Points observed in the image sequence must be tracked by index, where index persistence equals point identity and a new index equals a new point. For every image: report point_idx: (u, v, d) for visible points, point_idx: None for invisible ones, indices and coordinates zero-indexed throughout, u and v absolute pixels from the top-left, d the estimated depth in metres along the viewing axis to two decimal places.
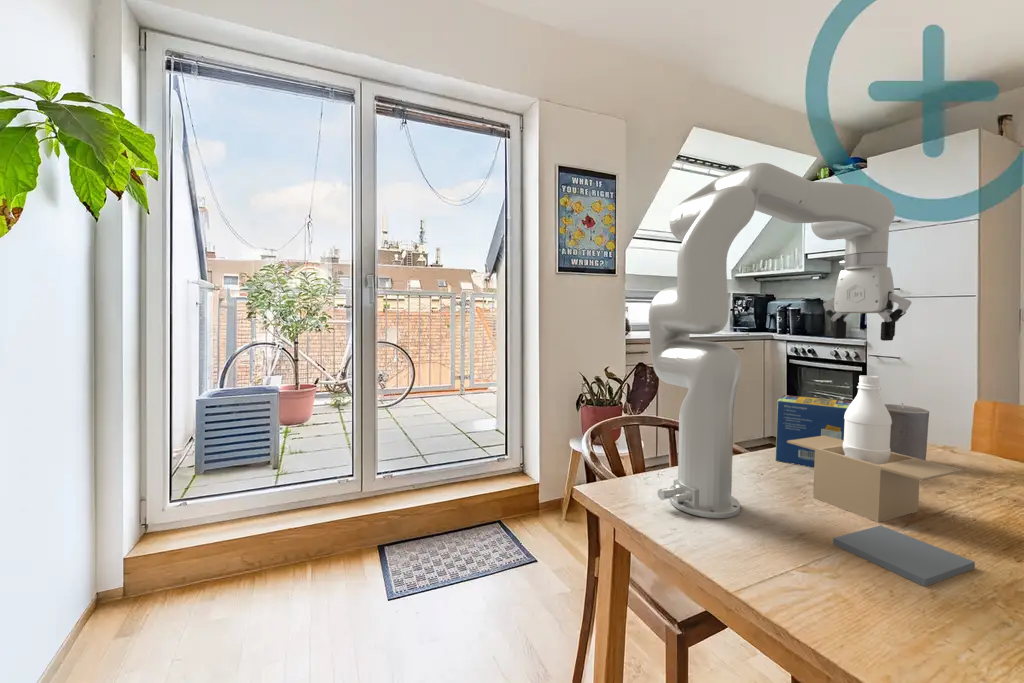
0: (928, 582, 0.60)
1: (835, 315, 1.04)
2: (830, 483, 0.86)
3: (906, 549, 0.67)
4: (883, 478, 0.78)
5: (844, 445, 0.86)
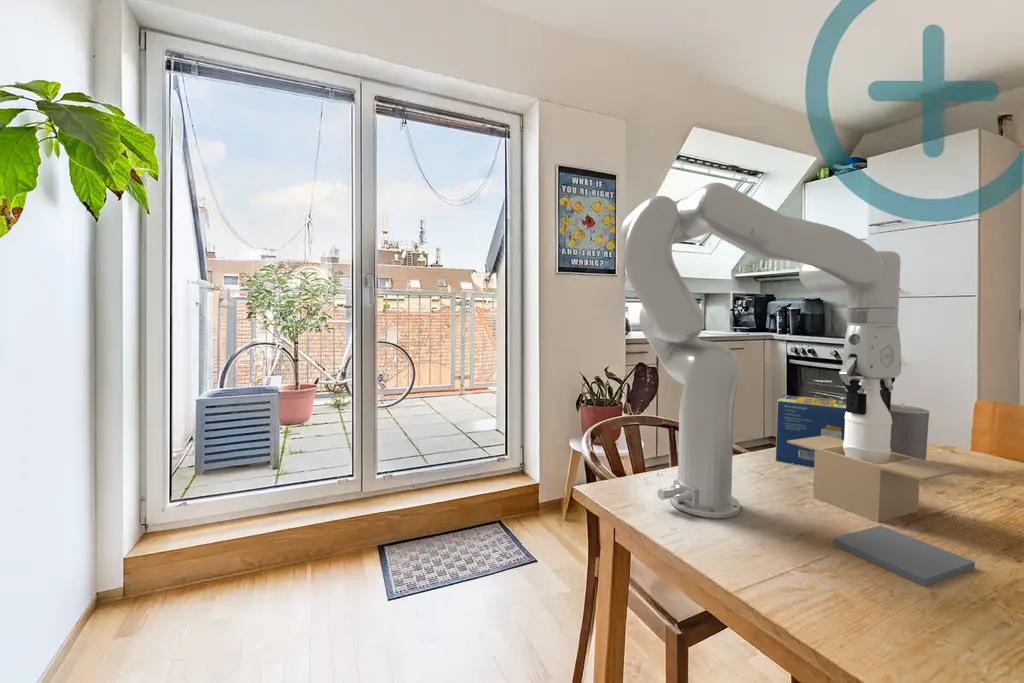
0: (928, 582, 0.60)
1: (863, 385, 0.82)
2: (830, 483, 0.86)
3: (906, 549, 0.67)
4: (883, 478, 0.78)
5: (844, 445, 0.86)
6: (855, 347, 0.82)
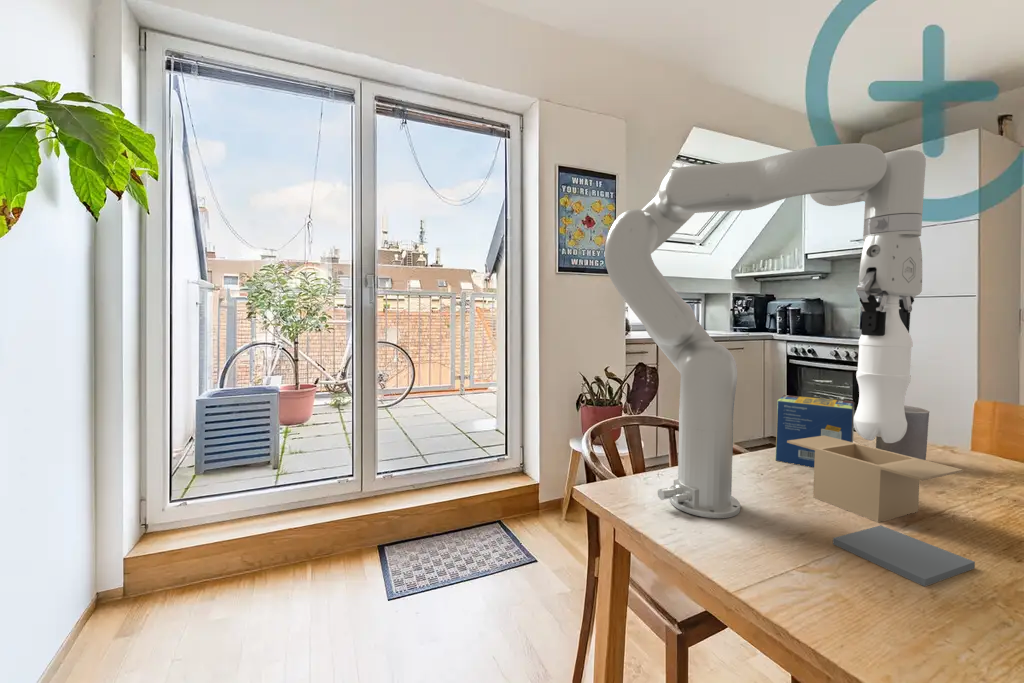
0: (928, 582, 0.60)
1: (882, 302, 0.73)
2: (830, 483, 0.86)
3: (906, 549, 0.67)
4: (883, 478, 0.78)
5: (858, 373, 0.77)
6: (874, 259, 0.73)
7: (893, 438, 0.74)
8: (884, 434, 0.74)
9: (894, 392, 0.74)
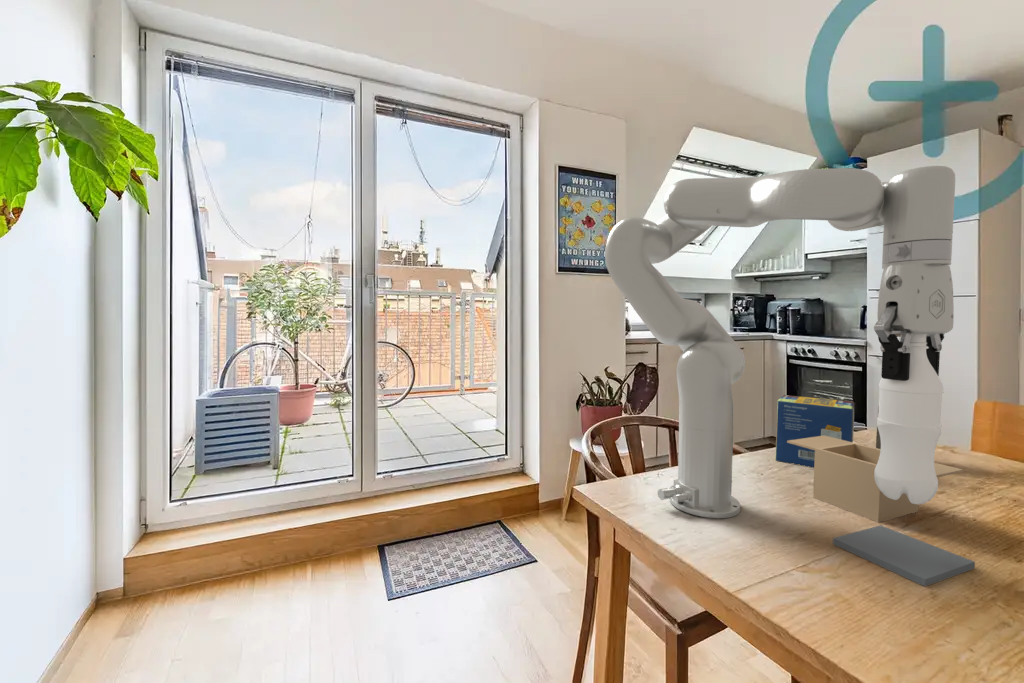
0: (928, 582, 0.60)
1: (905, 342, 0.63)
2: (830, 483, 0.86)
3: (906, 549, 0.67)
4: None
5: (879, 421, 0.67)
6: (895, 292, 0.63)
7: (921, 499, 0.64)
8: (910, 494, 0.64)
9: (921, 446, 0.63)
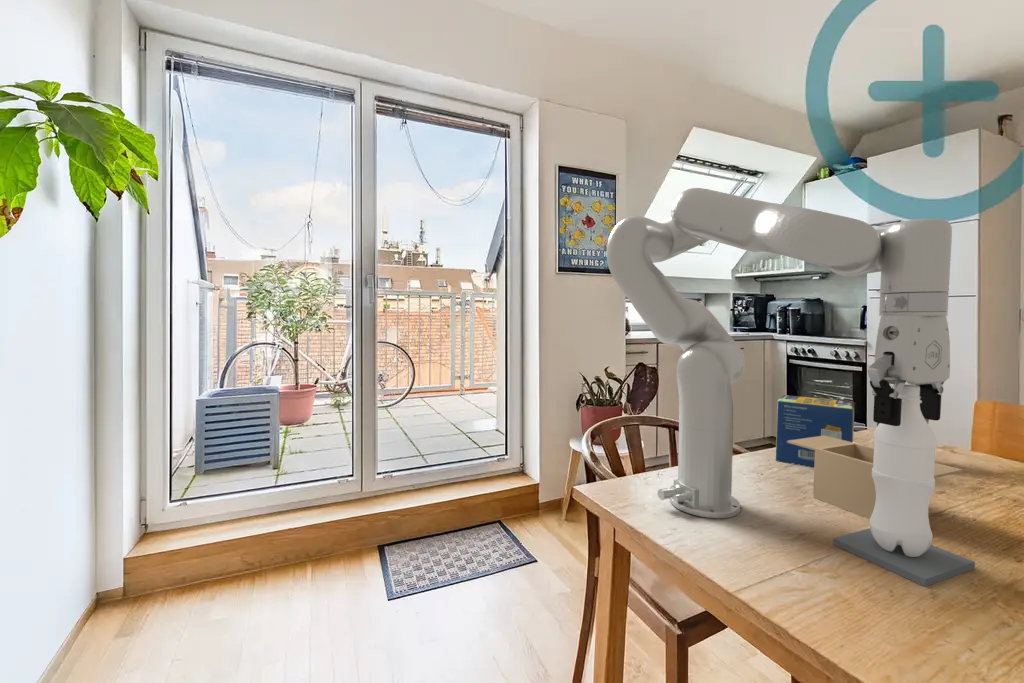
0: (928, 582, 0.60)
1: (898, 388, 0.63)
2: (830, 483, 0.86)
3: None
4: None
5: (874, 472, 0.68)
6: (892, 343, 0.64)
7: (916, 552, 0.64)
8: (905, 547, 0.65)
9: (915, 499, 0.64)
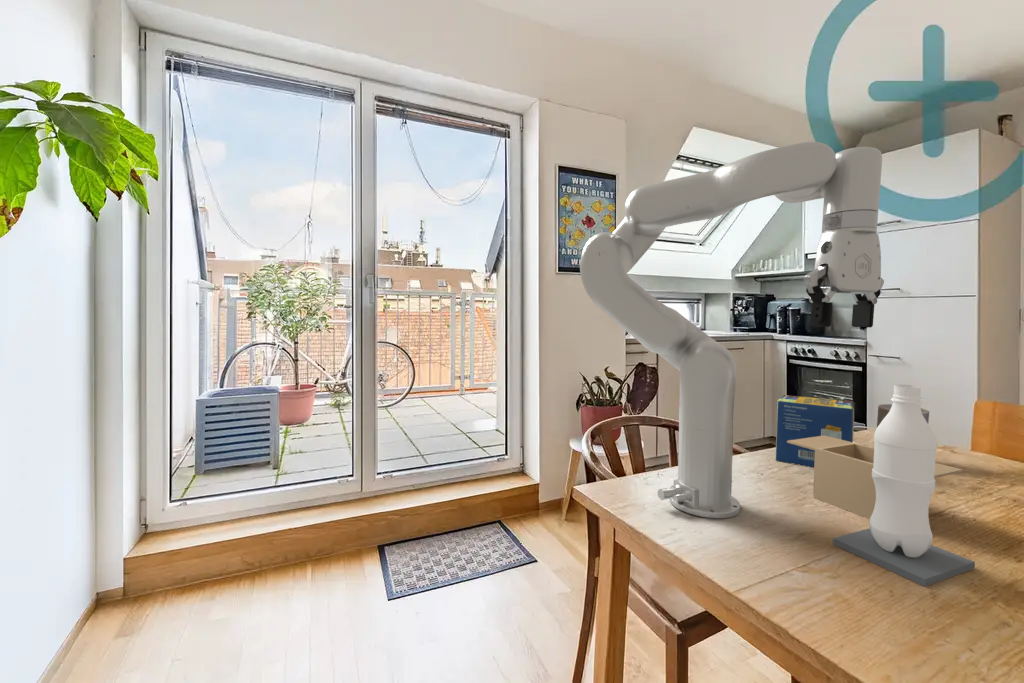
0: (928, 582, 0.60)
1: (829, 294, 0.73)
2: (830, 483, 0.86)
3: None
4: None
5: (874, 473, 0.68)
6: (826, 256, 0.74)
7: (916, 553, 0.64)
8: (905, 547, 0.65)
9: (915, 500, 0.64)
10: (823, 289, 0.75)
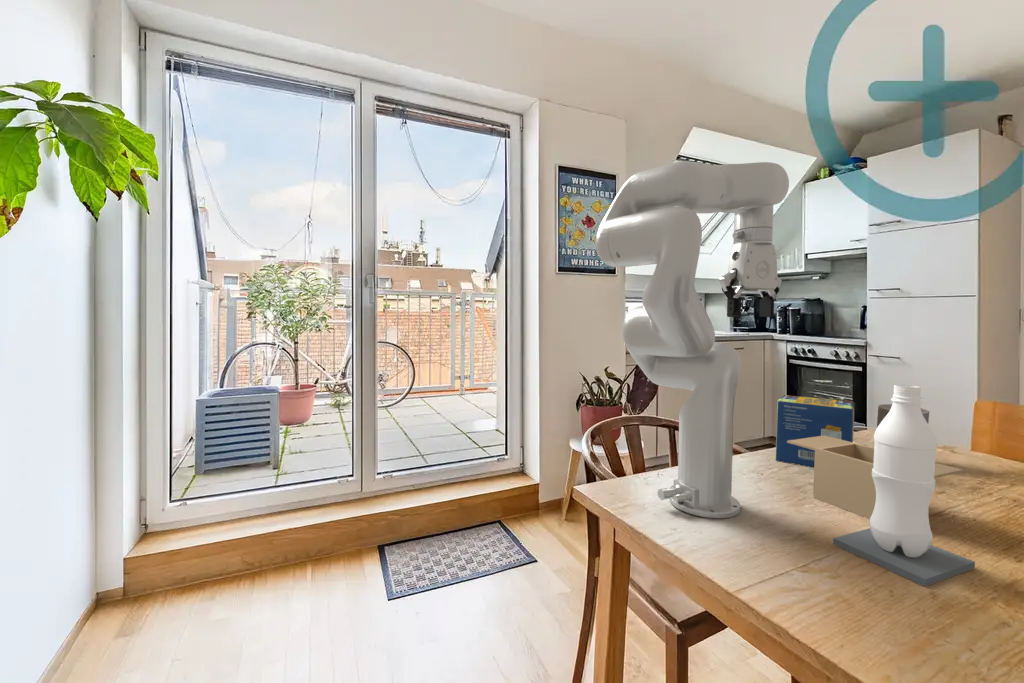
0: (928, 582, 0.60)
1: (738, 291, 0.95)
2: (830, 483, 0.86)
3: None
4: None
5: (874, 473, 0.68)
6: (736, 262, 0.96)
7: (916, 553, 0.64)
8: (905, 547, 0.65)
9: (915, 500, 0.64)
10: (735, 288, 0.97)
